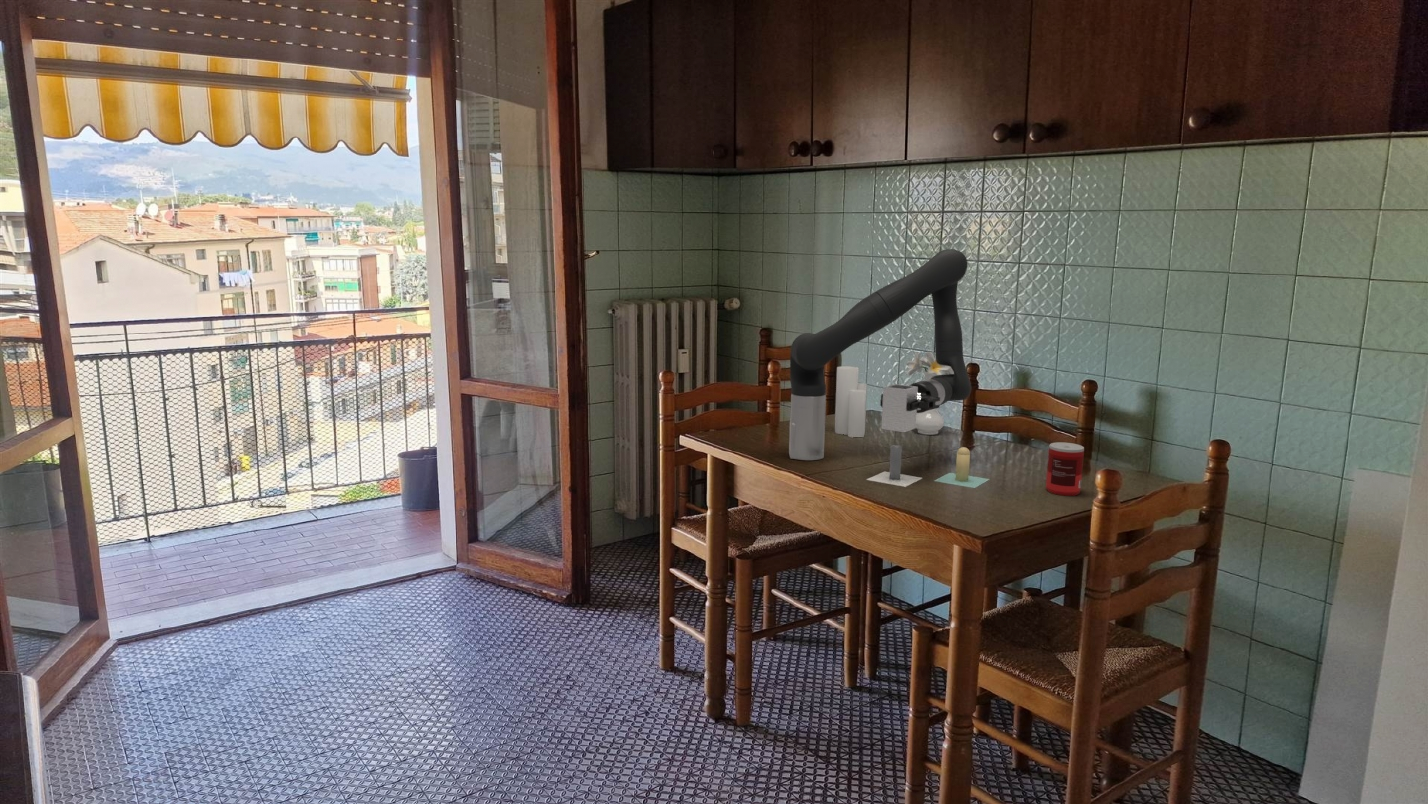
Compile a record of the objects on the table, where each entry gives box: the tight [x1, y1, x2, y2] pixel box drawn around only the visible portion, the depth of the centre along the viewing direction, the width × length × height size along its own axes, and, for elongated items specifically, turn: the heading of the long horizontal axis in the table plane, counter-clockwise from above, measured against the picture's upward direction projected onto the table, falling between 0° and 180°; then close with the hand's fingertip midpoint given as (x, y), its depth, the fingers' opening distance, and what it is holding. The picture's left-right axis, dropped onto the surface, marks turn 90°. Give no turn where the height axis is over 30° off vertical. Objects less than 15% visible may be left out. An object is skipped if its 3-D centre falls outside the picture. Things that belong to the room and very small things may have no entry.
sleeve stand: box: [866, 444, 923, 488], centre depth 212 cm, size 10×10×10 cm
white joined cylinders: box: [834, 365, 868, 438], centre depth 268 cm, size 11×7×20 cm, turn 37°
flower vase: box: [906, 351, 954, 436], centre depth 271 cm, size 13×18×25 cm
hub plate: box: [933, 446, 991, 489], centre depth 212 cm, size 10×10×10 cm
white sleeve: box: [881, 383, 918, 433], centre depth 210 cm, size 6×6×10 cm
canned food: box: [1045, 441, 1085, 497], centre depth 208 cm, size 8×8×11 cm
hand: (895, 405), depth 208 cm, fingers closed on white sleeve, 6 cm apart
